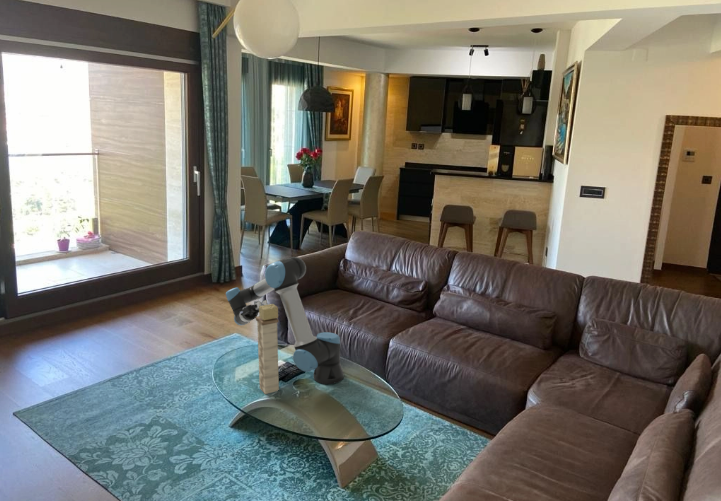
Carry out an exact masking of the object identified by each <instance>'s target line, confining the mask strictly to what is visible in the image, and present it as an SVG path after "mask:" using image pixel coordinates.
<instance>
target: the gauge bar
mask: <svg viewBox="0 0 721 501" xmlns="http://www.w3.org/2000/svg"><path fill="white" fill-rule="evenodd" d="M258 301H259V300H254V301H253V305H255V304H256V303H257V302H258ZM260 303H261V306H259V309H257V310H258V311H259V313H258V316H259V317H260V318H262V319H263V320H268V319H274V318H277V319H279V306H277V305H275V304H274V303H270V304H268V305H264V304H262V301H260Z"/></svg>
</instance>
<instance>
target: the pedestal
mask: <svg viewBox="0 0 721 501" xmlns="http://www.w3.org/2000/svg"><path fill="white" fill-rule="evenodd" d="M255 321H256V323H257V324H256V325H257V326H256V327H257V328H256V329H257V348H258V349H257V350H258V351H257V352H258V353H257V354H258V377H259V378H258V380H259V390H261V391H262V392H263V394H264V395H267V394H271V393H275V392H279V391H280V383H279V382H280V380H279V376H280V375H279V351H278V349H279V348H278V347H279V345H278V342H279V341H278V323H279V318H274V319H268V320H263V319H262V318H260V317H259V315H257V317H256V318H255ZM278 390H279V391H278Z"/></svg>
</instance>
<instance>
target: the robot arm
mask: <svg viewBox="0 0 721 501" xmlns="http://www.w3.org/2000/svg"><path fill="white" fill-rule="evenodd" d="M264 272H265V273H264V278H263V279H261V280H260V281H258V282H256V283H255V284H253V285H252V286H249V287H247V288H243V289H240V288H239V287H233V288H231V289H229V290H227V291H226V292H225V296H226V299H227V301H228V304H229V306H230V308H231V310H232V312H233V315H234V316H233V318H234V319H233V320H234V323H235V324H236V325H238V326H245V325H247V324H249V323H250V322H251V321H253V320H256V317H258V316H259V311H258V310H257V309H259V306H261V303H262V304H264V305H269V304H268V300H267V299H265V300H263V301H261V300H260V299H262V298H264V296H265V295H267V294H269V293H271V292H272V291H274V292H275V293H276V294H278V295H279V296H280V300H281V302H282V305H283V308H284V310H285V315H286V317H287V320H288V324H289V326H290V329H291V331H292V334H293V337H294V340H295V343H294V345H293V348H294V349H295V351H294V352H293V353H292V354H293V355H292V360H293V363H294V365H295V367H297V368H298V369H299V370H301V371H302V372H305V373H306V372H307V373H308V372H312V371H313V370H314V371H313V380H314V381H315V382H317V383H318V384H323V385H332V384H333V385H334V384H338V383H339V382H341V381H343V379H344V370H343V368H342V364H341V337H340V336H339V335H338V334H337V333H335V332H334V333H333V332H327V331H326V332H318V333H317V334H316V336H315V335H313V331H312V329H311V326H310V323H309V321H308V316H307V314H306V312H305V308H304V305H303V302H302V300H301V297H300V294H299V291H298V285H299V281H298V280H300V279H302V278H303V277H304V276H305V274H306V272H307V266H306V262H304V260H303V259H302V258H300V257H298V256H290V257H287V258H284V259H280V260H277V261H274V262H272V263H270V264H268V266H267V267H266V269H265V271H264ZM254 301H258V302H257V303H256V304H255V305H254V304H247V303H251V302H254ZM260 302H261V303H260Z"/></svg>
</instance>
